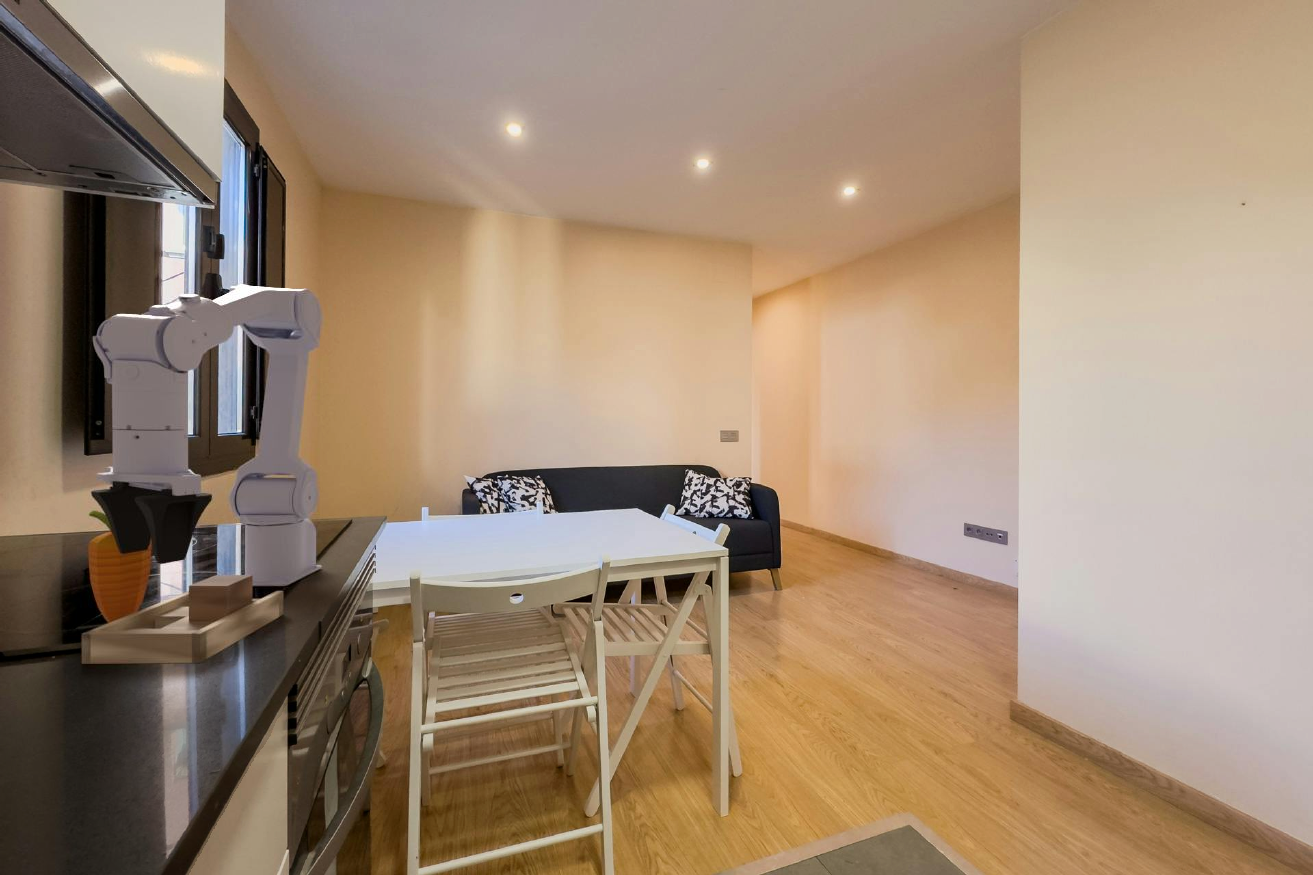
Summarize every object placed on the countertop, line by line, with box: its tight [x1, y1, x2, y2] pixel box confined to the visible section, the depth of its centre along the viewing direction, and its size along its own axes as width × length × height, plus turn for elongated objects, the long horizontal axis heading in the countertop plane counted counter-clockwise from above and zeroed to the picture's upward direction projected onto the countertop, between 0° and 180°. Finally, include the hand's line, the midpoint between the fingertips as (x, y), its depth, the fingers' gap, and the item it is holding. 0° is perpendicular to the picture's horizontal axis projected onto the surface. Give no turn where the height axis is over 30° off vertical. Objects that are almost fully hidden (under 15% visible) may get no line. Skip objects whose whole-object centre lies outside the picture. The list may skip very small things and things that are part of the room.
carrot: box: [87, 510, 152, 624], centre depth 58 cm, size 5×5×15 cm
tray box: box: [81, 590, 284, 665], centre depth 58 cm, size 13×11×3 cm
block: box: [188, 574, 253, 621], centre depth 59 cm, size 4×4×4 cm
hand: (152, 556), depth 55 cm, fingers open, 7 cm apart
